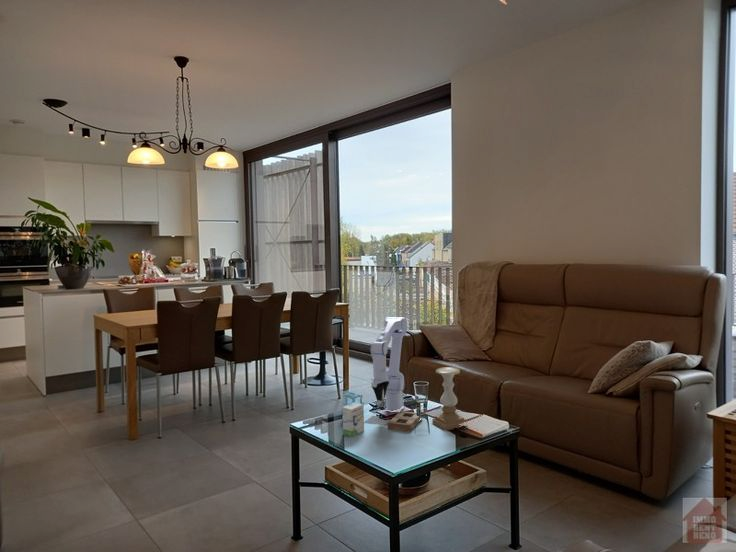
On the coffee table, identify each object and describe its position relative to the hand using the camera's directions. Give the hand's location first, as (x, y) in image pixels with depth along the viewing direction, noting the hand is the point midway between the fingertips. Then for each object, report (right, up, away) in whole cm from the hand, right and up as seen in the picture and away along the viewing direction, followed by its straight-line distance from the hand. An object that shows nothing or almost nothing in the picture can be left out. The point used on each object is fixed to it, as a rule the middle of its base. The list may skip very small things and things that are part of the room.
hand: (380, 399), depth 234 cm
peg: (0, -3, 0) cm, 3 cm away
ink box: (-12, -12, -12) cm, 20 cm away
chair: (-12, -11, +7) cm, 17 cm away
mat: (-1, -10, +2) cm, 10 cm away
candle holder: (+29, -10, -6) cm, 31 cm away
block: (+10, -10, -4) cm, 15 cm away
